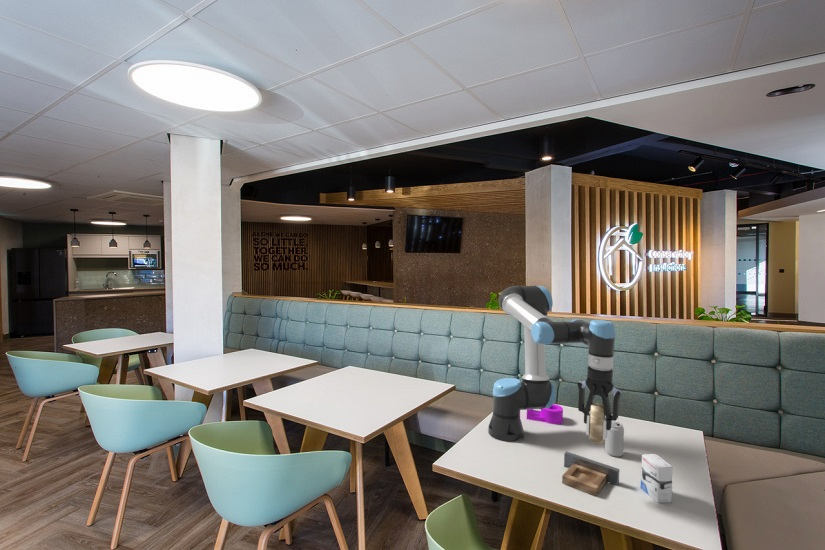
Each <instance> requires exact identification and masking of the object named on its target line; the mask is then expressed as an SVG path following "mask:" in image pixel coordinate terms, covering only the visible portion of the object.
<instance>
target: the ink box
mask: <svg viewBox="0 0 825 550" xmlns="http://www.w3.org/2000/svg"><path fill="white" fill-rule="evenodd" d="M673 469H674V467H673V466H672V465H671V464H669V463H668V462H667V461H666V460H665V459H663V457H661V456H659V455H658V454H656V453H650V454H648V453H646V454H645V453H643V454H641V468H640V470H641V471H640V489H642V491H644V492H645V493H646V494H647V496H649V497H650V498H651V499H653V500H654V501H655V502H656V503H657V504H659V503H660V504H661V503H662V504H663V503H666V504H667V503H672V491H673V473H674V472H673V471H674V470H673Z"/></svg>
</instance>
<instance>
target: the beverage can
mask: <svg viewBox="0 0 825 550" xmlns="http://www.w3.org/2000/svg"><path fill="white" fill-rule="evenodd" d="M624 434H625V428H624V425H623V424H622V423H621V422H618V421H614V420H613V421H612V423H611V429H610V430H608V435H607V438H606V440H604V450H605V452H606V453H607V455H610V456H612V457H616V458H617V457H621V456H623V455H624V439H625V435H624Z"/></svg>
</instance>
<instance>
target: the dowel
mask: <svg viewBox="0 0 825 550" xmlns="http://www.w3.org/2000/svg"><path fill="white" fill-rule="evenodd" d="M589 413H590V432H589V435H588V440H589V441H590V442H591V443H593V444H596V445H603V444H605V440H603V423H604V419H605V418H606V415H605V410H604V405H603V404H602V403H598V402H593V403H592V404H591V409H590V412H589Z"/></svg>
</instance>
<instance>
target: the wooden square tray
mask: <svg viewBox="0 0 825 550" xmlns="http://www.w3.org/2000/svg"><path fill="white" fill-rule="evenodd" d="M561 477H562V479H561V484H564V485H567V486H568V487H572V488H575V489H577V490H580V491H582V492H584V493H588V494H590V495H593V496H595V497H597V496H598V494H599V493H600V491H602V488H603V487H604V485H606V483H607V482H606V474H603V473H600V472H597V471H595V470H592V469H589V468H586V467H583V466H580V465H577V464H575V463H573V464H572V466H571V467H570V468H567V470H566V471H565V472H564V473H563V474H562V476H561Z"/></svg>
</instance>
